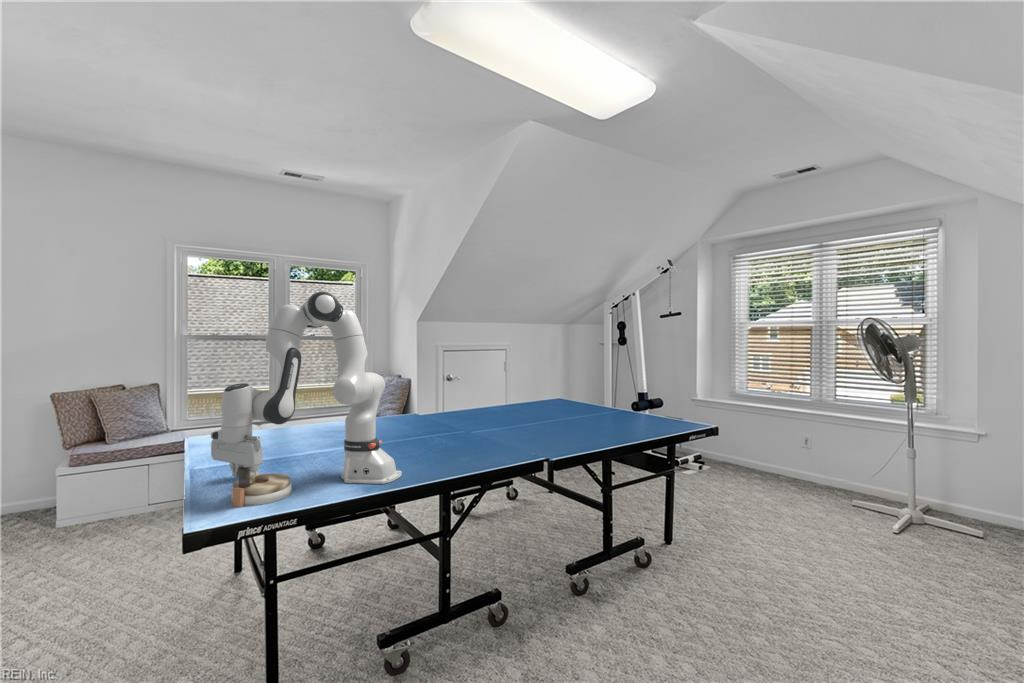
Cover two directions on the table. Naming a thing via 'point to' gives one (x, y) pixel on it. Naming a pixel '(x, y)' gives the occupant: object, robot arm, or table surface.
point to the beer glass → (254, 469)
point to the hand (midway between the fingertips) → (236, 476)
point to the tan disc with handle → (260, 482)
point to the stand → (257, 497)
